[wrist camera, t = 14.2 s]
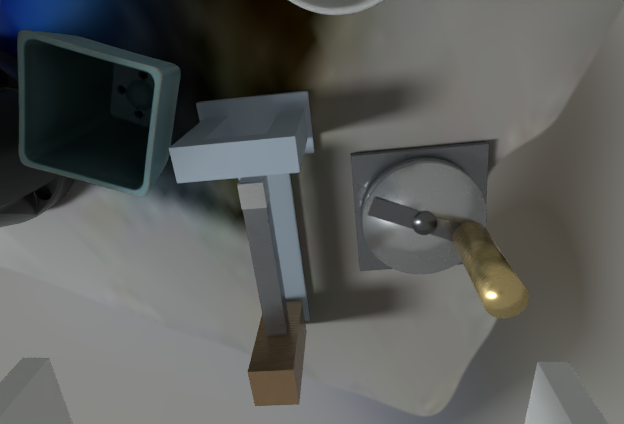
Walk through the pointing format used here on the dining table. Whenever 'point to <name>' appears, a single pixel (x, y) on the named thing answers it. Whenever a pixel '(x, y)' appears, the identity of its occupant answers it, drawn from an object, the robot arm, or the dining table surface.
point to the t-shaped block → (255, 161)
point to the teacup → (336, 6)
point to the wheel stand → (377, 162)
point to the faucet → (439, 229)
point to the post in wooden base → (271, 306)
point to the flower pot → (94, 111)
